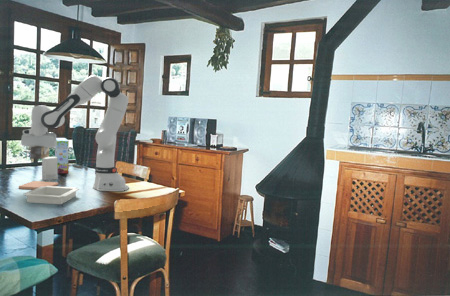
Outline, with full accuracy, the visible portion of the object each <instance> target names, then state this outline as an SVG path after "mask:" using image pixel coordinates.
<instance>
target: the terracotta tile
mask: <svg viewBox="0 0 450 296" xmlns="http://www.w3.org/2000/svg"><path fill="white" fill-rule="evenodd" d="M41 186H44V187H45V186H59V182H57V181H44V180H43V181H40V180H39V181H38V180H33V181H30V182H26V183H24V184H22V185H19V186H18V189H19V190H30V191H31V190H34V189H36V188H39V187H41Z"/></svg>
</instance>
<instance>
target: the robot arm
mask: <svg viewBox="0 0 450 296" xmlns="http://www.w3.org/2000/svg"><path fill="white" fill-rule="evenodd" d="M71 91H72V92H70V93H69V94H68V96H67V97H66V98H65V99H64V100H63V101H62V102H60V103H59V104H58V105H57V106H56V107H54V108H52V109H51V108H50V107H48V106H47V105H43V104H42V105H35V106H33V107H32V109H31V118H30V119H31V120H30V121H31V125H30V128H28V129H23V130H22V135H21V137H20V138H21V139H20V140H21V141H20V143H21V145H22V146H25V147H29V148H30V147H35V146H38V147H44V149H45V150H44V151H43V153H42V154H46V151H47V150H48V147H49V148H55V147H56V146H57V140H56V138H58V137H57V134H56V133H55V132H51V131H49V130H48V129H51V130H52V129H55V128H59V127H61V126H63V125H64V124H65V122H66V118H65V116H66V115H67V113H69V112H70V111H71V110H72V109H74V108H75V107H78V106H80V105H84V104H86V103H88V102H90V101H91V100H92V99H93V98H94V97H95V96H96V95H97V94H98V93H102V92H103V94H105V95H106V96H108V97H110V100H109V103H108V106H107V109H106V111H105V114H104V117H103V119H102V122H101V123H100V125H99V128H98V130H97V132H96V133H95V142H96V144H98V145H97V152H96V158H95V159H96V160H95V161H96V165H95V170H94V175H95V177H94V181H93V182H94V183H93V186H92V188H93V189H94V190H97V191H99V192H125V191H127V190H129V188H130V186H129V185H128V184H126V183H127V182H126V178H125V177H124V176H122V175H121V174H120V173H118V167H116V166H115V155H116V146H117V145H116V144H117V133H118V131H119V128H120V127H121V125H122V122H123V120H124V116H125V114H126V112H127V108H128V105H129V96H127V95H126V94H125V93H123V92H121V85H120V82H119V81H118V80H117V79H116V78H114V77H110V76H109V77H108V76H107V77H105V78H104V79H101V78H100V77H99V76H97V75H90V76H88V77H86V78H85V79H84V80H82V81H81V82H80V83H79V84H78V85H76V87H74V89H73V90H71ZM48 131H49V132H48ZM124 190H125V191H124Z"/></svg>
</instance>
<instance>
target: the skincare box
mask: <svg viewBox="0 0 450 296" xmlns="http://www.w3.org/2000/svg"><path fill="white" fill-rule="evenodd" d="M57 164H58V158H57V157H55V156H49V157H46V158H42V159H41V179H42V180H43V181H44V182H47V181H53V180H58V174H57Z"/></svg>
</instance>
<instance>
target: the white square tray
mask: <svg viewBox="0 0 450 296" xmlns="http://www.w3.org/2000/svg"><path fill="white" fill-rule="evenodd" d="M79 190H80V188H78V187H74V186H73V187H71V186H70V187H69V186H59V185H57V186H45V187H44V186H41V187H39V188H36V189H34V190H31V189H30V191H26V192H24V193H23V195H25V196H26V197H27V199H26V201H27V202H26V203H31V204H32V203H35V204H48V205H49V204H50V205H63V204H65V203H66V202H68V201H69V200H71V199H73V198H75V197H77V196H76V195H77V191H79Z"/></svg>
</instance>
